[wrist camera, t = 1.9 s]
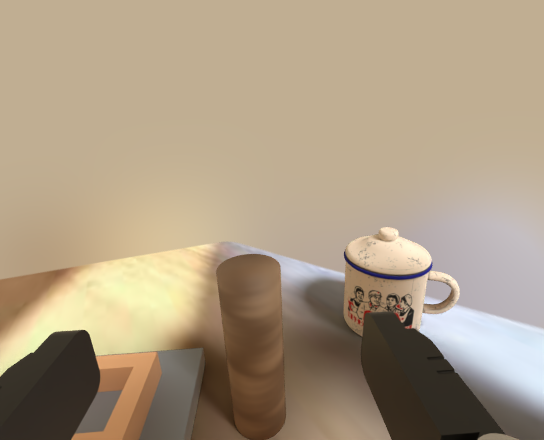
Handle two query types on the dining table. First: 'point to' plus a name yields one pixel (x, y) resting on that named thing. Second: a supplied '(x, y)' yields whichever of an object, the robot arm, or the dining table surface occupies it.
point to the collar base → (145, 396)
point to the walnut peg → (254, 342)
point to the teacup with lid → (390, 280)
